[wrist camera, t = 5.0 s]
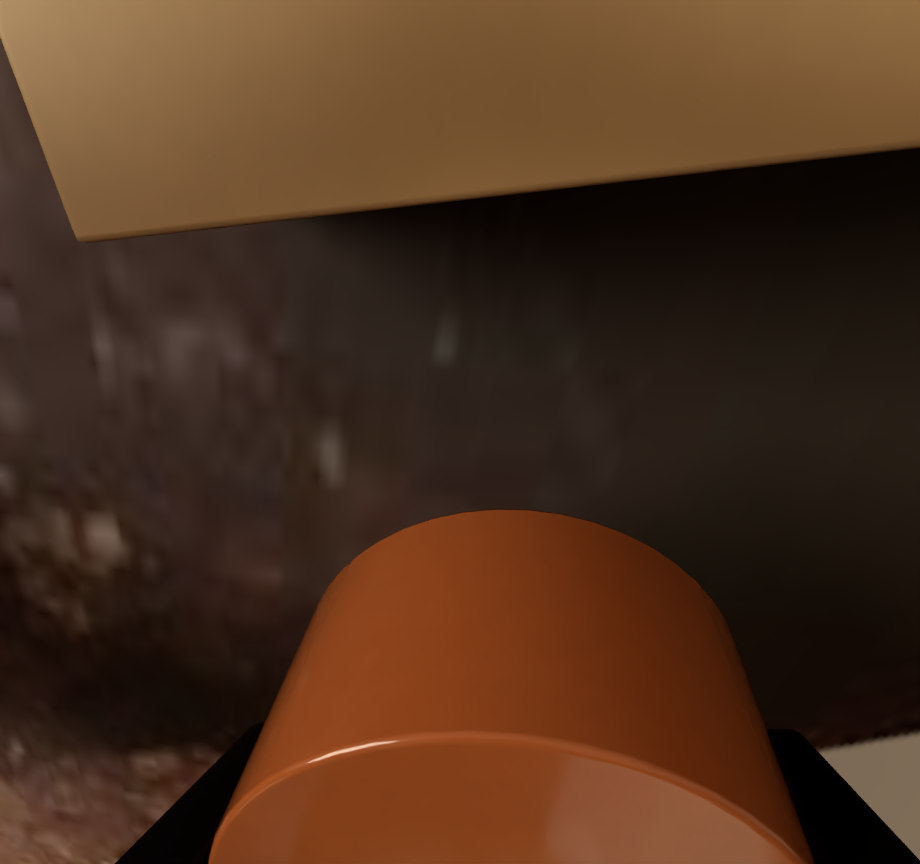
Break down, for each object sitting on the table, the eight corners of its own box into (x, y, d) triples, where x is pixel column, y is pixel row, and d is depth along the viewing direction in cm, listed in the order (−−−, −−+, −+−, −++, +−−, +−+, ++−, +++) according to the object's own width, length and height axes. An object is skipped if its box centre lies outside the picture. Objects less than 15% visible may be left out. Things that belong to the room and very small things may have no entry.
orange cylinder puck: (724, 822, 10) (798, 1109, 7) (352, 809, 11) (286, 1059, 8) (757, 495, 8) (897, 746, 5) (262, 515, 9) (113, 732, 6)
